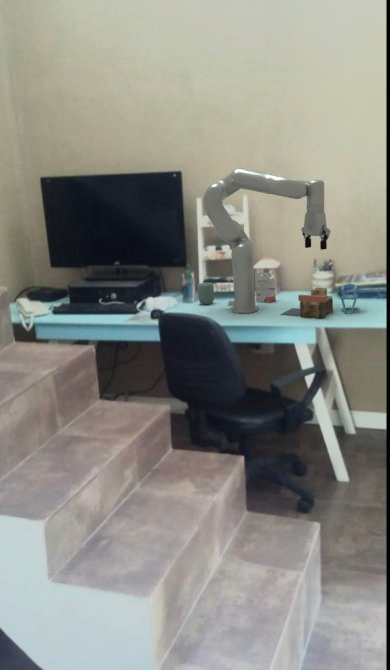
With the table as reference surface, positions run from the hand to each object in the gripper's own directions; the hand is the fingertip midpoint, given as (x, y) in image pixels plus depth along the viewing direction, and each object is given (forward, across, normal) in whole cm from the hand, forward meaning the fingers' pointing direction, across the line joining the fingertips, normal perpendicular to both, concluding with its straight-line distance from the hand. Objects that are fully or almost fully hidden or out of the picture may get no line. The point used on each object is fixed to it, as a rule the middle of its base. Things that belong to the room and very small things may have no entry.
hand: (315, 248), depth 284 cm
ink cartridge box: (+28, -29, -6) cm, 40 cm away
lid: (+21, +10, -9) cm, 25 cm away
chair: (+27, +17, +4) cm, 32 cm away
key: (+20, +12, -14) cm, 27 cm away
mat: (+27, 0, -12) cm, 30 cm away
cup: (+28, -48, -28) cm, 62 cm away
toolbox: (+27, +10, -9) cm, 30 cm away
